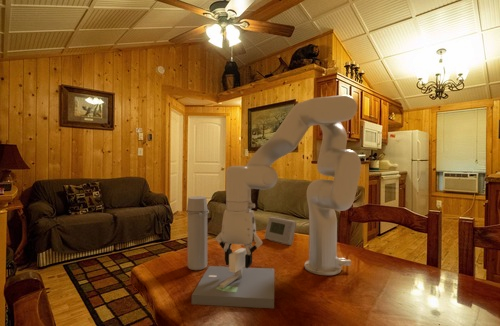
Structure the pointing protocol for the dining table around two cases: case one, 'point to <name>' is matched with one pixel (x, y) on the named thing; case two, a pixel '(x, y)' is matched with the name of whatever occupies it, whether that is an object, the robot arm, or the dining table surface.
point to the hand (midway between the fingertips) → (238, 264)
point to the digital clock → (280, 230)
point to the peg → (235, 265)
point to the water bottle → (197, 232)
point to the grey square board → (236, 288)
